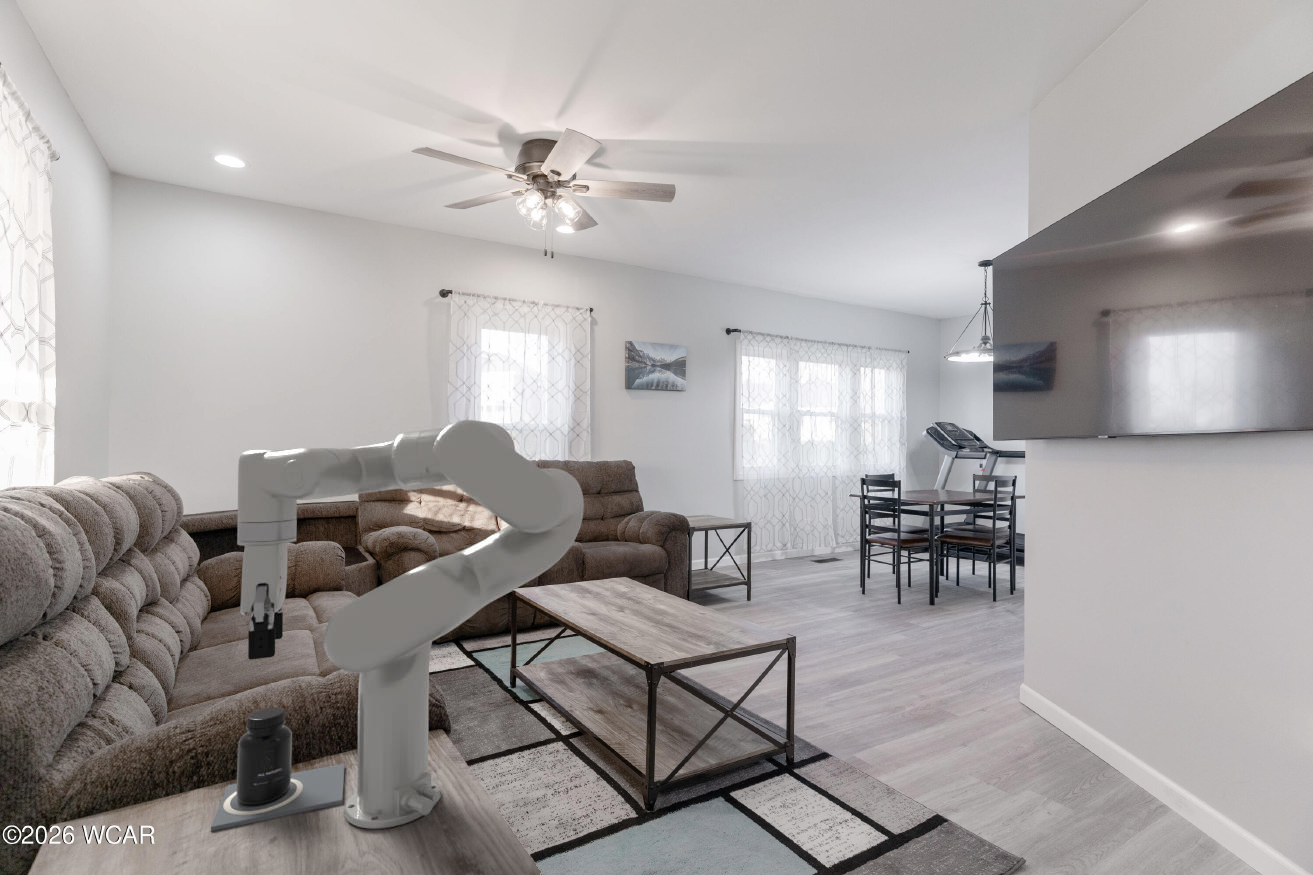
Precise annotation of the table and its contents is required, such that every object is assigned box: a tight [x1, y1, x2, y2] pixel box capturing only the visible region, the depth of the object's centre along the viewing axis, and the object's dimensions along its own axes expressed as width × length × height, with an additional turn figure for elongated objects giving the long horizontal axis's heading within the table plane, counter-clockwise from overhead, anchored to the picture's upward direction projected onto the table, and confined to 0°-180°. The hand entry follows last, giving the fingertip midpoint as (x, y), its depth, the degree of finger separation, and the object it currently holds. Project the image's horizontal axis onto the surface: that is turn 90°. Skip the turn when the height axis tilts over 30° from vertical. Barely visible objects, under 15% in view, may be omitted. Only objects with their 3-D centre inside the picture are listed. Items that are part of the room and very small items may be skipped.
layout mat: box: [210, 763, 345, 832], centre depth 95 cm, size 16×12×1 cm
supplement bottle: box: [236, 707, 293, 807], centre depth 94 cm, size 7×7×12 cm
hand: (266, 648), depth 95 cm, fingers open, 9 cm apart
